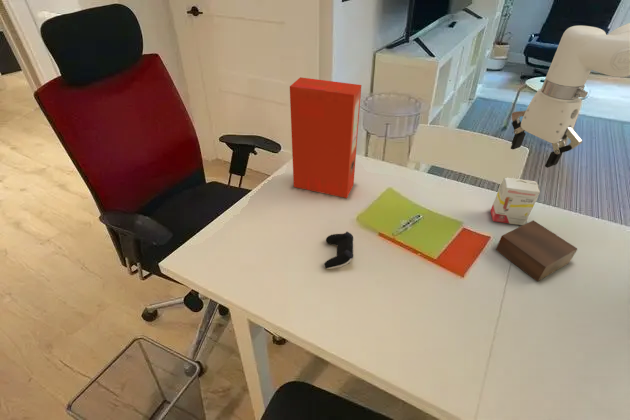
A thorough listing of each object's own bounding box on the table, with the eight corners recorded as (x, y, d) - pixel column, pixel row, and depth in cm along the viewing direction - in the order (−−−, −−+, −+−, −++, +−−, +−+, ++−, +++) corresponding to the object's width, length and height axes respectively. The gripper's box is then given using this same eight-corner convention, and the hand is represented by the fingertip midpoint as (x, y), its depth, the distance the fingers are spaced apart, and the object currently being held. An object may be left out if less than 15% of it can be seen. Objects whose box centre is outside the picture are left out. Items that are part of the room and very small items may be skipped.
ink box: (491, 221, 104) (505, 187, 96) (489, 210, 107) (502, 176, 100) (525, 226, 102) (541, 191, 95) (521, 215, 106) (537, 180, 98)
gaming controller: (334, 277, 91) (356, 264, 88) (322, 267, 89) (344, 254, 86) (335, 246, 99) (356, 233, 96) (324, 236, 97) (344, 223, 94)
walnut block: (526, 234, 100) (533, 220, 96) (569, 263, 91) (578, 248, 88) (495, 249, 95) (501, 235, 92) (537, 281, 87) (545, 267, 84)
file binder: (303, 174, 122) (300, 76, 102) (353, 184, 118) (361, 84, 98) (293, 187, 117) (289, 86, 96) (346, 198, 112) (353, 95, 92)
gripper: (611, 99, 77) (574, 169, 88) (537, 74, 89) (512, 138, 100) (590, 106, 74) (554, 178, 85) (516, 79, 86) (493, 145, 97)
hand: (531, 156), depth 92 cm, fingers open, 9 cm apart
